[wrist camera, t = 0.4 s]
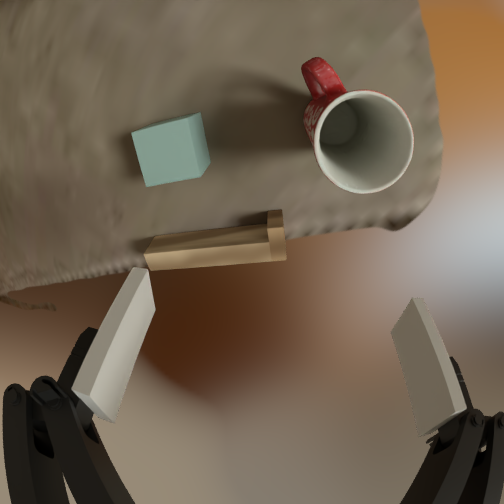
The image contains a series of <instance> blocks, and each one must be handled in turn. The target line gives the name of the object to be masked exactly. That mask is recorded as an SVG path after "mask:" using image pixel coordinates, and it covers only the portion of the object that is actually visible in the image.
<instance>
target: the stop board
mask: <svg viewBox="0 0 504 504" xmlns="http://www.w3.org/2000/svg"><path fill="white" fill-rule="evenodd" d="M144 257H145V259H146V261H147V264H148V266H149V268H150V270H165V269H178V268H192V267H206V266H218V265H230V264H243V263H255V262H267V261H279V260H286V246H285V234H284V224H283V214H282V210H272V211H268V218H267V224H258V225H248V226H238V227H229V228H220V229H211V230H202V231H193V232H184V233H176V234H168V235H160V236H155V237H154V239H153V240H152V242H151V243H150V245H149V246H148V248H147V250H146V251H145V253H144Z"/></svg>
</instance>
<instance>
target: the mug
mask: <svg viewBox="0 0 504 504" xmlns="http://www.w3.org/2000/svg"><path fill="white" fill-rule="evenodd" d="M301 70H302V74H303V77H304V80H305V82H306V84H307V87H308V89H309V91H310V93H311V95H312V97H313V100H312V101H311V102H310V103H309V104H308V105H307V107H306V109H305V112H304V127H305V130H306V132H307V134H308V137H309V139H310V141H311V143H312V146H313V148H314V154H315V158H316V160H317V163H318V165H319V167H320V169H321V170H322V172H323V173H324V175H325V176H326V177H327V178H328V179H329V180H330V181H331V182H332V183H333V184H335V185H336V186H338V187H339V188H341V189H343V190H346V191H349V192H353V193H360V194H366V193H374V192H378V191H381V190H383V189H385V188H387V187H389V186H391V185H392V184H393V183H395V182H396V181H397V180H398V179H399V178H400V177H401V176H402V175H403V173H404V172H405V171H406V169H407V167H408V166H409V163H410V161H411V158H412V154H413V149H414V135H413V130H412V126H411V123H410V121H409V119H408V117H407V115H406V113H405V112H404V110H403V109H402V108H401V107H400V105H399V104H398V103H397V102H395V101H394V100H393V99H391V98H390V97H389V96H387V95H385V94H382V93H380V92H377V91H373V90H355V91H350V92H347V91H346V89H345V88H344V86H343V84H342V82H341V80H340V79H339V77H338V75H337V74H336V72H335V71H334V70H333V68H332V67H331V66H330V65H329V64H328V63H327V62H326V61H325V60H324V59H322V58H320V57H315V58H312V59H310V60H308V61H307V62H305V63H304V64H303V65H302V67H301Z"/></svg>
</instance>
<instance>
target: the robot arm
mask: <svg viewBox="0 0 504 504" xmlns="http://www.w3.org/2000/svg"><path fill="white" fill-rule="evenodd" d="M154 312H155V305H154V300H153V295H152V290H151V284H150V279H149V273H148V269H142V268H136V267H133V269H132V270H131V272H130V274H129V275H128V277H127V279H126V281H125V283H124V284H123V286H122V288H121V290H120V291H119V293H118V295H117V296H116V298H115V300H114V302H113V304H112V306H111V307H110V309H109V311H108V313H107V315H106V317H105V319H104V321H103V322H102V324H101V326H100V328H99V330H98V329H94V328H90V327H88V328H87V329H86V330H85V331H84V332H83V333H82V334H81V335H80V336H79V338H78V340H77V342H76V344H75V347H74V348H73V350H72V352H71V355H70V356H69V358H68V360H67V362H66V364H65V366H64V368H63V370H62V372H61V374H60V377H59V379H58V381H57V382H56V381H55V380H54V379H53V378H52V377H49V376H41V377H39V378H37V379H35V381H34V382H33V383H32V385H31V388H30V391H28V390H25V389H24V388H23V387H22V386H21V385H19V384H11V385H10V386H8V387H7V389H6V390H5V392H4V396H3V448H4V459H5V469H6V476H7V482H8V489H9V494H10V499H11V503H12V504H70V503H69V500H68V496H67V492H66V487H65V483H64V478H63V475H64V477H65V479H66V482H67V484H68V486H69V488H70V491H71V493H72V495H73V497H74V499H75V501H76V503H77V504H135V502H134V501H133V499H132V498H131V496H130V494H129V493H128V491H127V489H126V488H125V486H124V484H123V482H122V481H121V479H120V477H119V475H118V473H117V471H116V470H115V468H114V466H113V464H112V462H111V460H110V458H109V456H108V454H107V452H106V449H105V447H104V445H103V443H102V441H101V439H100V436H99V434H98V432H97V429H96V427H95V424H94V422H93V420H92V417H93V414H95V415H96V416H97V417H98V418H101V419H103V420H106V421H109V422H112V423H115V420H116V417H117V414H118V411H119V407H120V404H121V401H122V399H123V395H124V392H125V390H126V387H127V384H128V381H129V378H130V375H131V372H132V369H133V367H134V364H135V361H136V358H137V356H138V353H139V350H140V347H141V345H142V342H143V340H144V337H145V334H146V332H147V329H148V327H149V324H150V322H151V319H152V317H153V314H154ZM391 335H392V338H393V341H394V344H395V347H396V350H397V354H398V357H399V360H400V364H401V367H402V371H403V374H404V378H405V381H406V385H407V389H408V393H409V397H410V401H411V405H412V409H413V414H414V418H415V423H416V428H417V433H418V437H421V436H425V435H428V434H431V433H432V432H434V431H436V430H437V429H438V431H439V433H437V434H436V435H434V436H433V437H431V438H430V439H428V440H427V442H426V443H429V442H431V441H433V442H432V443H430V446H431V447H430V449H429V451H428V454H427V456H426V458H425V460H424V462H423V464H422V466H421V468H420V470H419V472H418V474H417V475H416V477H415V479H414V481H413V483H412V485H411V486H410V488H409V490H408V491H407V493H406V495H405V496H404V498H403V500H402V501H401V503H400V504H499V503H500V499H501V494H502V488H503V483H504V413H503V412H498V413H497V414H496V415H494V416H493V417H491V416H484V415H483V413H482V412H481V411H480V410H478V409H474V408H473V406H472V403H471V400H470V397H469V394H468V390H467V388H466V385H465V382H464V379H463V377H462V375H461V371H460V368H459V366H458V364H457V362H456V361H455V360H454V358H453V357H449V355H448V353H447V350H446V348H445V346H444V343H443V341H442V338H441V336H440V334H439V332H438V329H437V327H436V325H435V323H434V320H433V318H432V316H431V314H430V312H429V310H428V308H427V306H426V304H425V302H424V300H423V299H422V298H412V299H411V301H410V302H409V304H408V306H407V307H406V309H405V311H404V312H403V314H402V316H401V317H400V318H399V320H398V322H397V323H396V325H395V326H394V328H393V329H392V331H391ZM485 445H486V450H485V451H483V452H481V448H482V447H484V446H485Z"/></svg>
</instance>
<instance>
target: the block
mask: <svg viewBox="0 0 504 504" xmlns="http://www.w3.org/2000/svg"><path fill="white" fill-rule="evenodd" d="M131 134H132V138H133V142H134V145H135V149H136V153H137V156H138V160H139V164H140V167H141V171H142V174H143V177H144V181H145V184H146V187H150V186H155V185H160V184H165V183H170V182H175V181H181V180H186V179H192V178H198V177H201V176H202V174H203V173H204V172H205V170H206V169H207V167H208V166H209V164H210V163H211V161H210V156H209V151H208V147H207V142H206V137H205V132H204V127H203V122H202V117H201V112H199V113H194V114H190V115H185V116H181V117H177V118H173V119H169V120H165V121H161V122H158V123H154V124H151V125H148V126H146V127H143V128H141V129H139V130H137V131H134V132H132V133H131Z"/></svg>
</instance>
